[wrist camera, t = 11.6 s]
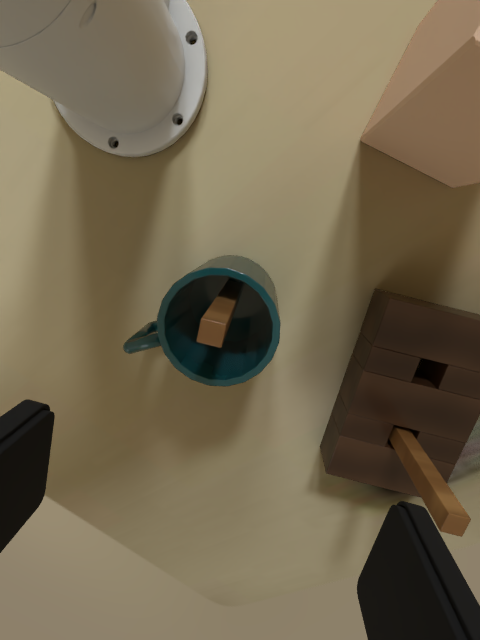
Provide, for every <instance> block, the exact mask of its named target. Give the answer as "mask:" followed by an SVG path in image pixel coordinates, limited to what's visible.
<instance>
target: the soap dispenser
mask: <svg viewBox="0 0 480 640" xmlns="http://www.w3.org/2000/svg"><path fill="white" fill-rule="evenodd" d="M361 141H362V142H363V143H365V144H367V145H369V146H371V147H373V148H375V149H377V150H379V151H381V152H383V153H385V154H387V155H389V156H391V157H393V158H395V159H397V160H399V161H401V162H403V163H405V164H407V165H409V166H411V167H412V168H414V169H416V170H418V171H420V172H422V173H424V174H426V175H428V176H430V177H432V178H434V179H436V180H438V181H440V182H442V183H444V184H446V185H448V186H450V187H452V188H455V187H460V186H465V185H471V184H476V183H480V0H437V2H436V3H435V4H434V6H433V7H432V8H431V10H430V11H429V12H428V13H427V15H426V16H425V17H424V19H423V20H422V21H421V23H420V24H419V25H418V27H417V29H416V31H415V33H414V35H413V37H412V39H411V41H410V43H409V45H408V47H407V49H406V51H405V53H404V55H403V57H402V58H401V60H400V62H399V64H398V66H397V68H396V70H395V72H394V74H393V76H392V78H391V80H390V82H389V84H388V86H387V88H386V90H385V92H384V94H383V95H382V97H381V99H380V101H379V103H378V105H377V107H376V109H375V111H374V113H373V115H372V117H371V119H370V121H369V123H368V125H367V127H366V129H365V131H364V132H363V134H362V136H361Z"/></svg>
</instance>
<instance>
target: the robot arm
mask: <svg viewBox="0 0 480 640" xmlns="http://www.w3.org/2000/svg"><path fill="white" fill-rule="evenodd" d="M193 40H195V41H196V43H195V44H194V45H191V41H193ZM0 70H1V71H3V72H5V73H7V74H8V75H10V76H12V77H14V78H15V79H17V80H19V81H21V82H23V83H24V84H26V85H28V86H30V87H31V88H33V89H35V90H37V91H38V92H40V93H42V94H44V95H45V96H47V97H49V98H51V99H52V100H53V101H54V103H55V105H56V107H57V109H58V110H59V112H60V114H61V115H62V117H63V118H64V119H65V121H66V122H67V123H68V125H69V126H70V127H71V128H72V129H73V130H74V131H75V132H76V133H77V134H78V135H79V136H80V137H81V138H82V139H84V140H85V141H87V142H88V143H90V144H92V145H93V146H95V147H97V148H99V149H101V150H103V151H105V152H108V153H112V154H115V155H118V156H125V157H141V156H148V155H151V154H154V153H157V152H160V151H162V150H164V149H166V148H167V147H169V146H170V145H172V144H174V143H175V142H176V141H177V140H178V139H179V138H180V137H181V136H182V135H184V134H185V133H186V131H187V130H188V128H189V127H190V126H191V124H192V123H193V122H194V120H195V118H196V116H197V114H198V112H199V110H200V108H201V105H202V102H203V98H204V95H205V91H206V85H207V75H208V66H207V52H206V48H205V44H204V40H203V35H202V33H201V30H200V27H199V24H198V22H197V19H196V18H195V16H194V14H193V12H192V10H191V8H190V6H189V4H188V3H187V2H186V0H0ZM179 119H182V120H183V122H182V124H181V125H178V124H177V122H178V120H179ZM116 142H119V145H118V147H117V148H116V147H115V143H116ZM53 425H54V413H53V412H51V411H50V407H49V406H48V405H47V404H43V403H39V402H36V401H32V400H24V401H22V402H21V403H20V404H18V405H17V406H15V407H14V408H12V409H11V410H10V411H8V412H7V413H5V414H4V415H3V416H1V417H0V553H1V551H2V550H3V549H4V548H5V547H6V545H7V544H8V543H9V542H10V541H11V539H12V538H13V537H14V536H15V535H16V533H17V532H18V531H19V530H20V528H21V527H22V526H23V525H24V524H25V522H26V521H27V520H28V519H29V518H30V516H31V515H32V514H33V513H34V512H35V510H36V509H37V508H38V507H39V505H40V503H41V502H42V500H43V497H44V494H45V489H46V481H47V473H48V465H49V457H50V449H51V441H52V433H53ZM357 594H358V599H359V604H360V608H361V612H362V616H363V620H364V625H365V629H366V633H367V637H368V640H480V606H479V604H478V602H477V600H476V599H475V597H474V595H473V593H472V591H471V590H470V588H469V586H468V584H467V582H466V580H465V579H464V577H463V575H462V573H461V571H460V570H459V568H458V566H457V564H456V563H455V561H454V559H453V557H452V555H451V553H450V552H449V550H448V548H447V546H446V544H445V542H444V541H443V539H442V537H441V535H440V533H439V532H438V530H437V528H436V526H435V524H434V523H433V521H432V519H431V517H430V515H429V513H428V512H427V510H426V509H425V508H424V507H422V506H419V505H415V504H411V503H408V502H404V501H400V502H399V503H398V504H397V505H392V506H391V507H390V509H389V511H388V513H387V516H386V518H385V520H384V522H383V525H382V527H381V529H380V531H379V534H378V536H377V538H376V541H375V543H374V545H373V547H372V550H371V552H370V554H369V556H368V559H367V561H366V563H365V565H364V568H363V570H362V572H361V574H360V577H359V579H358V584H357Z"/></svg>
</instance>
